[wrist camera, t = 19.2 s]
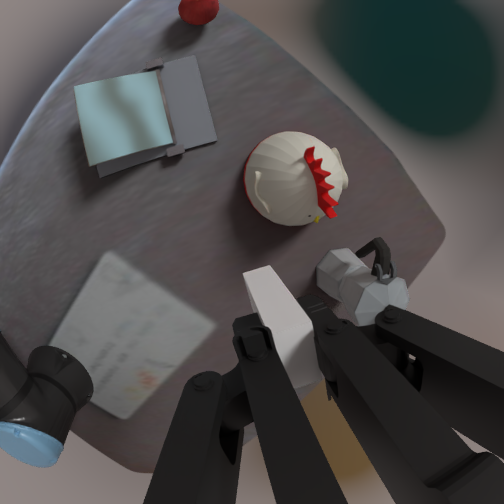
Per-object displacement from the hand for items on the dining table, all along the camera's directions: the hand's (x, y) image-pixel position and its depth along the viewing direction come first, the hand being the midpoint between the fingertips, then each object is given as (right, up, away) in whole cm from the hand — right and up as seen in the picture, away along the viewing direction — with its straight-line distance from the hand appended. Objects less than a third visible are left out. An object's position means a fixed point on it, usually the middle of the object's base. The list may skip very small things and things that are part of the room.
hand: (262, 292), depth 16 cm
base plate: (-16, +22, +22) cm, 35 cm away
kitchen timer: (+5, +13, +28) cm, 32 cm away
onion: (-9, +38, +20) cm, 44 cm away
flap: (-17, +20, +18) cm, 32 cm away
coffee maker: (+14, 0, +33) cm, 36 cm away
